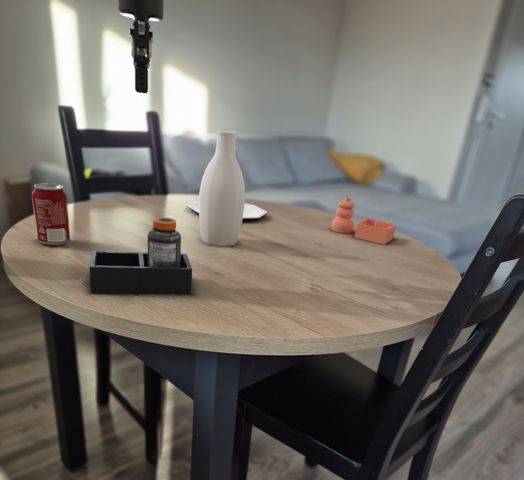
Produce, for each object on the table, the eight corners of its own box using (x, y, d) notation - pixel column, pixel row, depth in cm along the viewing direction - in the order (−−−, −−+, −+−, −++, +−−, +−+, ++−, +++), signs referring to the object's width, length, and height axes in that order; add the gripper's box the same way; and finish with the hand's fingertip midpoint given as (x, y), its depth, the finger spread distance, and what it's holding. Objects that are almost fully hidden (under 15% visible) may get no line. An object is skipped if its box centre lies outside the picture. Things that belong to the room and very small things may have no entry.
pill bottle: (160, 272, 94) (161, 213, 89) (186, 279, 92) (188, 219, 87) (141, 279, 89) (140, 218, 84) (167, 287, 87) (168, 225, 82)
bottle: (195, 245, 116) (201, 130, 104) (198, 233, 125) (203, 127, 114) (241, 249, 117) (252, 136, 105) (240, 237, 127) (250, 132, 115)
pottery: (392, 238, 145) (400, 205, 140) (384, 244, 137) (392, 209, 133) (337, 225, 151) (343, 193, 147) (326, 230, 144) (332, 197, 139)
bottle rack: (90, 293, 84) (89, 266, 81) (93, 275, 91) (92, 250, 89) (191, 294, 88) (192, 269, 86) (185, 276, 96) (186, 253, 94)
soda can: (70, 247, 104) (66, 190, 99) (36, 246, 102) (29, 188, 96) (70, 238, 110) (65, 183, 104) (37, 237, 108) (31, 182, 102)
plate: (272, 212, 158) (273, 208, 158) (251, 227, 138) (252, 221, 137) (206, 201, 163) (206, 196, 162) (176, 213, 142) (176, 208, 142)
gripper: (119, -14, 86) (121, 89, 94) (116, -29, 74) (118, 90, 81) (161, -6, 88) (160, 94, 95) (166, -20, 76) (164, 96, 83)
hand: (141, 92), depth 88 cm, fingers open, 8 cm apart
